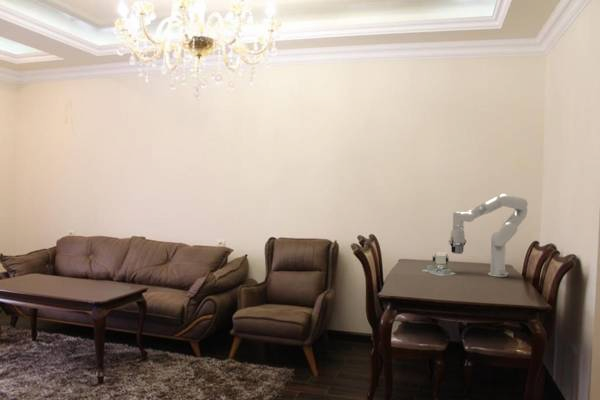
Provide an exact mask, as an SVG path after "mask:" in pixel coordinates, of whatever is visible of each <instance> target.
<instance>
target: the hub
mask: <svg viewBox="0 0 600 400" xmlns="http://www.w3.org/2000/svg"><path fill="white" fill-rule="evenodd" d="M454 247H455V252H451V253H452V254H456V255H457V254H458V255H460V254H463V252H462V249H463V250H464V247H463V245H460V244H459V243H456V244H455V246H454Z"/></svg>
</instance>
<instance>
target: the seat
mask: <svg viewBox="0 0 600 400" xmlns="http://www.w3.org/2000/svg"><path fill="white" fill-rule="evenodd" d="M426 266H427V267H426V269H422V270H421V271H422V272H423V273H429V274H432V275H434V276H435V275H436V276H438V277H443V276H444V277H445V276H456V273H455V272H452V269H451V268H445V269H444V268H443V269H440V265H438V264H437V265H434V264H433V265H431V264H430V265H426Z"/></svg>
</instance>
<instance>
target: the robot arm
mask: <svg viewBox="0 0 600 400" xmlns="http://www.w3.org/2000/svg"><path fill="white" fill-rule="evenodd" d="M528 203H529V202H528V200H527V199H525V198H523V197H519V196H514V195H510V194H507V193H500V194H498V195H496V196H495V197H492V198H490V199H489V200H487V201H484V202H482V203H481V204H479V205H477V206H475V207H473V208H471V209H469V210H467V211H460V210H459V211H458V210H457V211H453V213H452V229H451V230H450V231H451V232H450V237H449V238H450V239H449V240H448V244H449V245H450V247H451V250H450V251H451V253H452V252H455V247H454V246H455V244H459V245H463V249H462V253H463V252H464V248H465V245H466V243H467V240H466V238H465V237H466V236H465V230H464V229H465V226H464V222H467V223H472V222H474V220H475V219H477V218H480V217H481V216H484V215H487V214H490V213H492V212H495V211H497V210H498V209H500V208H502V207H506V208H510V209H514V210H513V212H512V213H511V215H510V216H509V217H508V218H507V219H506V220H505V221H504V222H503V224H501V227H500V228H499V230H497V231H496V232H493V233H492V234H491V236H490V271H489V272H488V273H487V275H488V276H490V277H498V278H503V277H504V278H505V277H508V275H509V272H507V270H506V244H507V243H508V242H509V241H510V240H511V239H512V238H513V237H515V234H516V233H517V231H518V227H519V226H520V225H521V224H522V222H524V221H525V219H526V217H527V214H528V205H529V204H528Z"/></svg>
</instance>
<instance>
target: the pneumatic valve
mask: <svg viewBox="0 0 600 400" xmlns="http://www.w3.org/2000/svg"><path fill="white" fill-rule="evenodd" d="M432 262H434V264H437V265H440V270H442V269H444V268H445V264H447V263H449V256H448V255H447V254H442V253H439V254H434V255H432ZM443 264H444V265H443Z"/></svg>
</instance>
